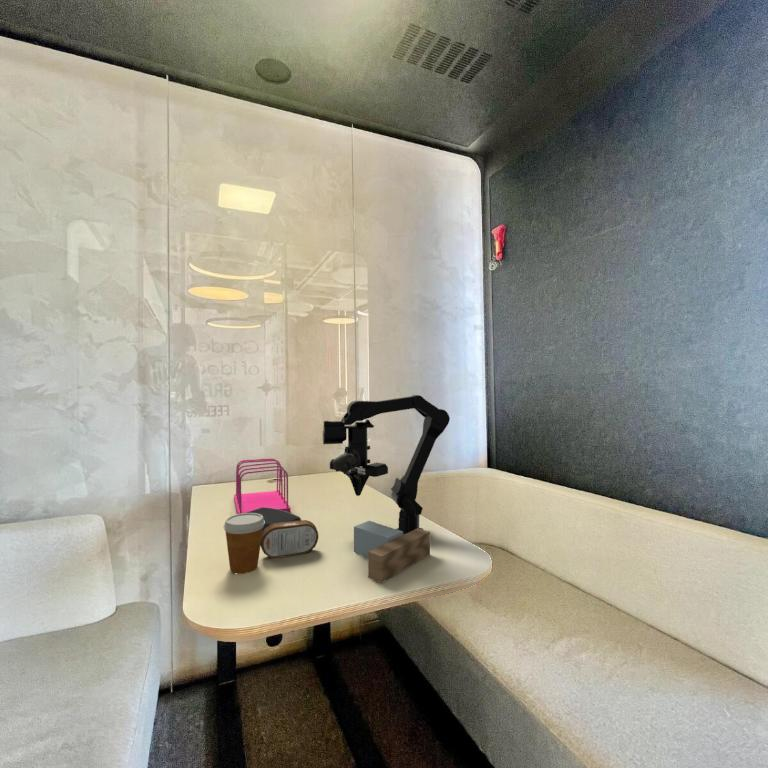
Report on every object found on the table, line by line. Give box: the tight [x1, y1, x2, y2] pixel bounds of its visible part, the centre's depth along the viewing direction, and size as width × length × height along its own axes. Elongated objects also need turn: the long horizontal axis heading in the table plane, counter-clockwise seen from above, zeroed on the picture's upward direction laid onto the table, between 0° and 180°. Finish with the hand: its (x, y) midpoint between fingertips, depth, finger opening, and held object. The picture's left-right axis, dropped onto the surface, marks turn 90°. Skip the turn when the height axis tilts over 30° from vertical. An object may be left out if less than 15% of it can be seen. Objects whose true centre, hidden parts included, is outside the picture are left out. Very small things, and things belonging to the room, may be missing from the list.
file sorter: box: [233, 457, 292, 514], centre depth 146 cm, size 17×25×16 cm
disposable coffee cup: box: [222, 513, 265, 575], centre depth 96 cm, size 10×10×12 cm
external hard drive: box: [246, 507, 302, 532], centre depth 125 cm, size 13×19×4 cm
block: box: [353, 520, 404, 559], centre depth 104 cm, size 6×12×7 cm, turn 49°
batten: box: [367, 527, 431, 584], centre depth 98 cm, size 20×4×6 cm, turn 140°
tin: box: [260, 519, 319, 559], centre depth 104 cm, size 15×3×8 cm, turn 113°
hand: (358, 495), depth 118 cm, fingers closed
